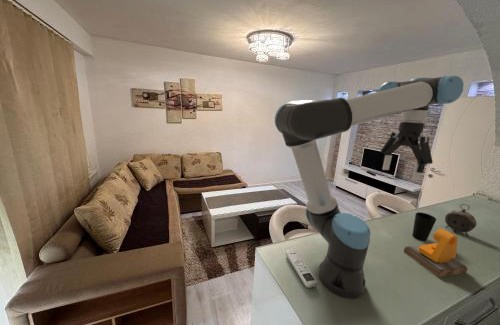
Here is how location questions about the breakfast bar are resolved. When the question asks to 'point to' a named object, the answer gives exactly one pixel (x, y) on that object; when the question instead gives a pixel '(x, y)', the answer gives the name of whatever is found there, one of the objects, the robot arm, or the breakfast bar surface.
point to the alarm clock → (460, 220)
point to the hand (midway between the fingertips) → (399, 174)
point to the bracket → (441, 247)
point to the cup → (423, 226)
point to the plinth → (436, 263)
